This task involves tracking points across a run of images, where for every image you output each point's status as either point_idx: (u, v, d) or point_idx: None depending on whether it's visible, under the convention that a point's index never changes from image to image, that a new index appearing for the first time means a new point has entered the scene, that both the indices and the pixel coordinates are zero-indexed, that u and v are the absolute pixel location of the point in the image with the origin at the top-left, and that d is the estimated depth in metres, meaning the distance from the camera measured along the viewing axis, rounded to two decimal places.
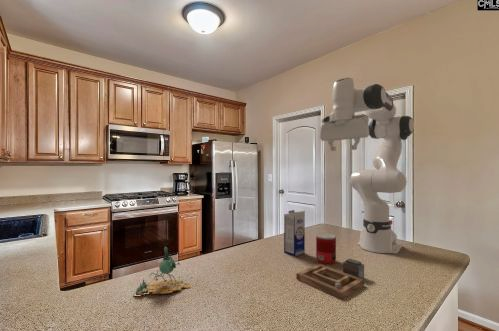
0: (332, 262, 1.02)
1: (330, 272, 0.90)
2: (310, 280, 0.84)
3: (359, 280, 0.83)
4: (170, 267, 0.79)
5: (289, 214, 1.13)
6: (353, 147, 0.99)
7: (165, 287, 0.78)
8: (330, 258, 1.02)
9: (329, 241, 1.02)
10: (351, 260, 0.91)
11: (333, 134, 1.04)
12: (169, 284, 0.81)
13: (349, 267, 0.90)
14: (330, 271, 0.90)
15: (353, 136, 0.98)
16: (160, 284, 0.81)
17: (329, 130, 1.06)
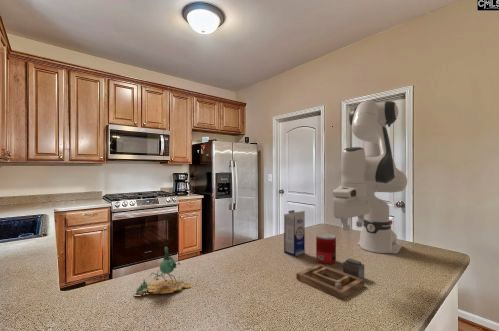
0: (332, 262, 1.02)
1: (330, 272, 0.90)
2: (310, 280, 0.84)
3: (359, 280, 0.83)
4: (170, 267, 0.79)
5: (289, 214, 1.13)
6: (362, 224, 0.93)
7: (165, 287, 0.78)
8: (330, 258, 1.02)
9: (329, 241, 1.02)
10: (351, 260, 0.91)
11: (352, 211, 0.87)
12: (169, 284, 0.81)
13: (349, 267, 0.90)
14: (330, 271, 0.90)
15: (364, 213, 0.93)
16: (160, 284, 0.81)
17: (350, 206, 0.86)
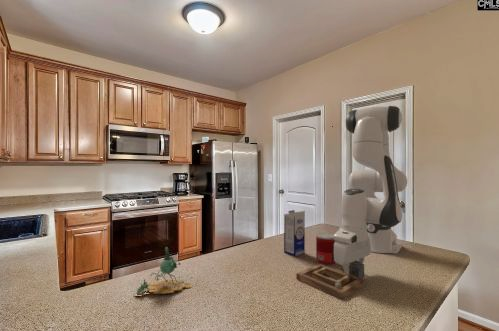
0: (332, 262, 1.02)
1: (330, 272, 0.90)
2: (310, 280, 0.84)
3: (359, 280, 0.83)
4: (171, 267, 0.79)
5: (289, 214, 1.13)
6: None
7: (166, 287, 0.78)
8: (330, 258, 1.02)
9: (329, 241, 1.02)
10: None
11: (353, 255, 0.87)
12: (170, 284, 0.81)
13: (349, 267, 0.90)
14: (330, 271, 0.90)
15: (365, 255, 0.92)
16: (161, 284, 0.81)
17: (350, 252, 0.86)
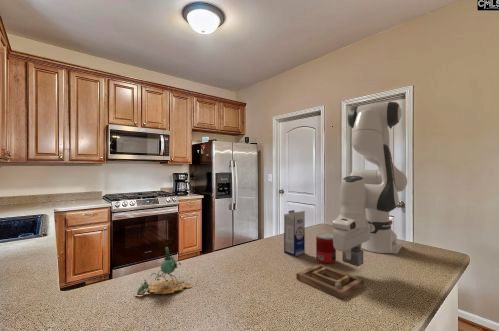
0: (332, 262, 1.02)
1: (330, 272, 0.90)
2: (310, 280, 0.84)
3: (359, 280, 0.83)
4: (171, 267, 0.79)
5: (289, 214, 1.13)
6: None
7: (166, 287, 0.78)
8: (330, 258, 1.02)
9: (329, 241, 1.02)
10: None
11: (352, 241, 0.88)
12: (170, 284, 0.81)
13: None
14: (330, 271, 0.90)
15: (364, 241, 0.93)
16: (161, 284, 0.81)
17: (349, 238, 0.87)
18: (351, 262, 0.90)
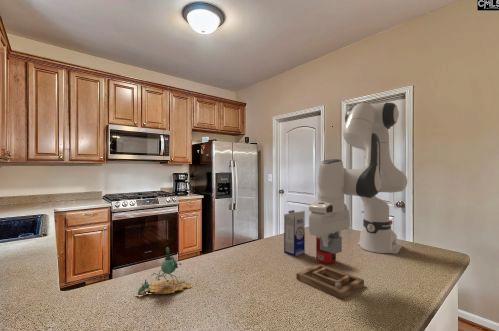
0: (332, 262, 1.02)
1: (330, 272, 0.90)
2: (310, 280, 0.84)
3: (359, 280, 0.83)
4: (172, 267, 0.79)
5: (289, 214, 1.13)
6: None
7: (167, 287, 0.78)
8: (330, 258, 1.02)
9: None
10: None
11: (329, 227, 0.83)
12: (171, 284, 0.81)
13: None
14: (330, 271, 0.90)
15: (343, 228, 0.88)
16: (162, 284, 0.81)
17: (326, 222, 0.82)
18: (328, 249, 0.85)
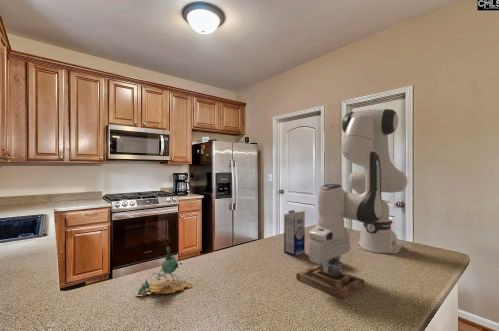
0: None
1: None
2: (310, 280, 0.84)
3: (359, 280, 0.83)
4: (172, 267, 0.79)
5: (289, 214, 1.13)
6: None
7: (167, 287, 0.78)
8: None
9: None
10: None
11: (329, 253, 0.83)
12: (171, 284, 0.81)
13: None
14: None
15: (343, 253, 0.89)
16: (162, 284, 0.81)
17: (326, 249, 0.82)
18: (329, 275, 0.85)
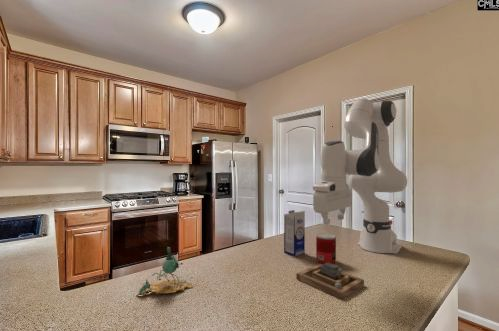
0: (332, 262, 1.02)
1: None
2: (310, 280, 0.84)
3: (359, 280, 0.83)
4: (173, 267, 0.79)
5: (289, 214, 1.13)
6: (343, 217, 0.94)
7: (168, 287, 0.78)
8: (330, 258, 1.02)
9: (329, 241, 1.02)
10: (328, 264, 0.87)
11: (332, 205, 0.88)
12: (172, 284, 0.81)
13: (326, 272, 0.86)
14: None
15: (345, 206, 0.94)
16: (163, 284, 0.81)
17: (329, 200, 0.87)
18: None
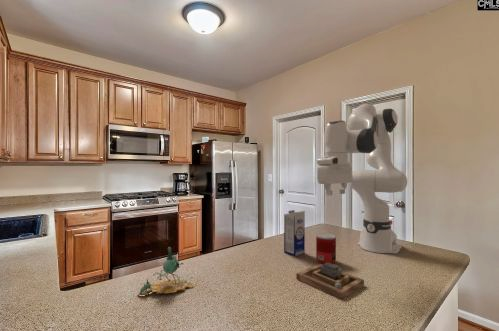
0: (332, 262, 1.02)
1: None
2: (310, 280, 0.84)
3: (359, 280, 0.83)
4: (174, 267, 0.79)
5: (289, 214, 1.13)
6: (344, 192, 1.02)
7: (169, 287, 0.78)
8: (330, 258, 1.02)
9: (329, 241, 1.02)
10: (328, 264, 0.87)
11: (335, 177, 0.96)
12: (173, 284, 0.81)
13: (326, 272, 0.86)
14: None
15: (347, 181, 1.02)
16: (164, 284, 0.81)
17: (332, 173, 0.95)
18: None
